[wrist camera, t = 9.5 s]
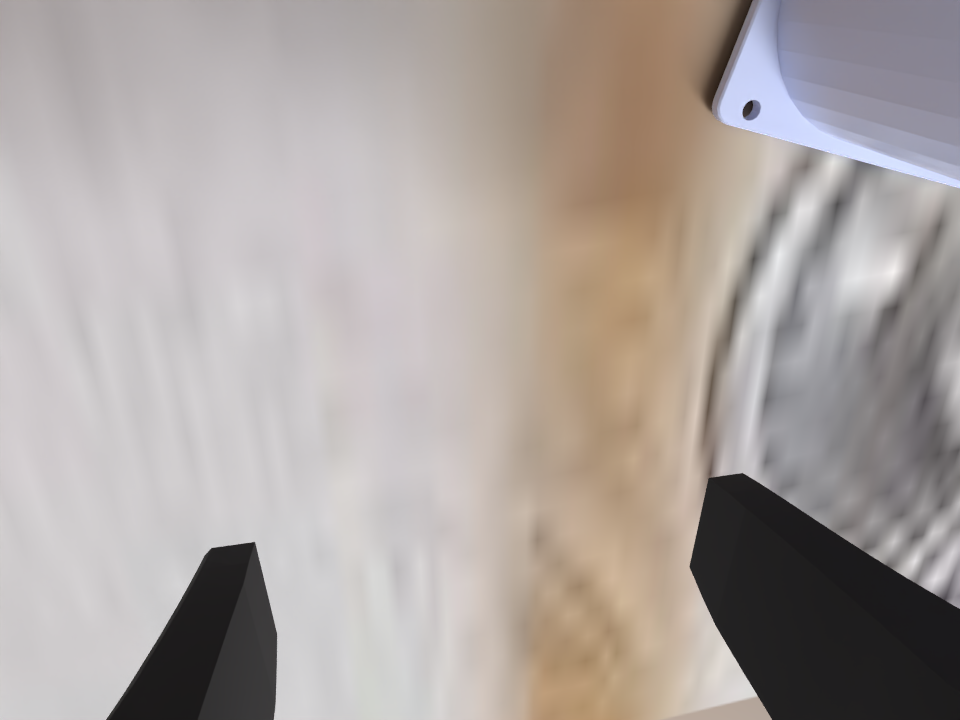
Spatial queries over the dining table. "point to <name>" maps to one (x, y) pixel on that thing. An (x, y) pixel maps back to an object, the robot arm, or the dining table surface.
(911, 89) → the robot arm
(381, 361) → the dining table surface
